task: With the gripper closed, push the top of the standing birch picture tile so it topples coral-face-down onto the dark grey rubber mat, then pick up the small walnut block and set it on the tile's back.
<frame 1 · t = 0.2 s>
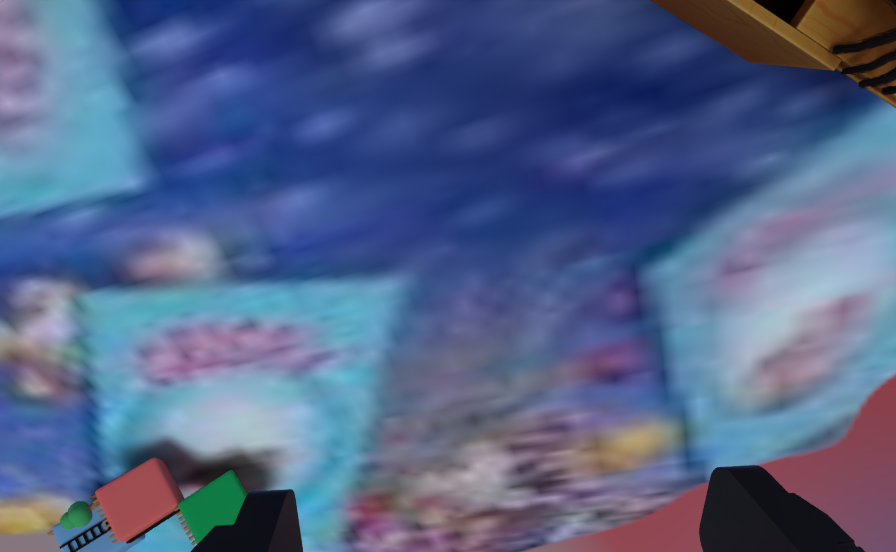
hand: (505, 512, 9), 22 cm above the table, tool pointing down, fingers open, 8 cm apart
building blocks: (179, 483, 39), on the table
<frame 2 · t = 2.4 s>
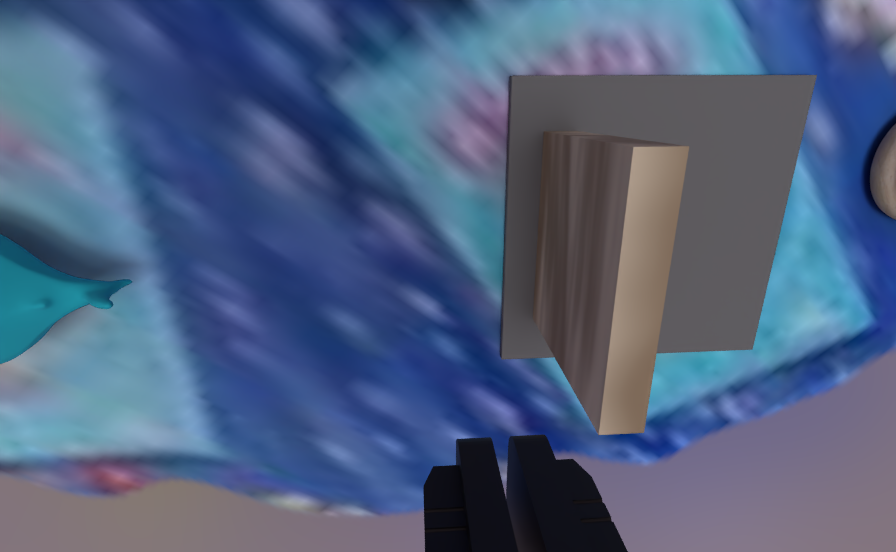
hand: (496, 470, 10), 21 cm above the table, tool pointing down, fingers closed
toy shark: (20, 271, 29), on the table
mat: (642, 226, 31), on the table
tile: (553, 230, 30), point 1 cm above the table, touching mat
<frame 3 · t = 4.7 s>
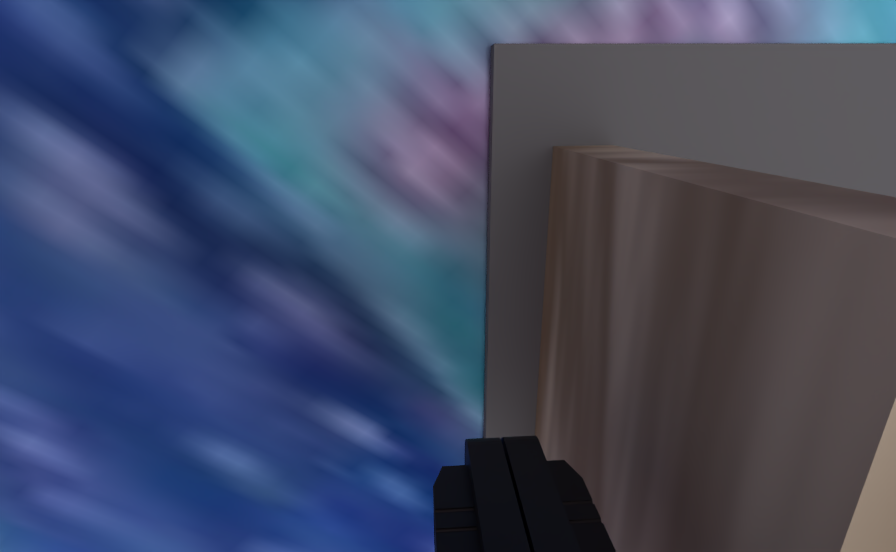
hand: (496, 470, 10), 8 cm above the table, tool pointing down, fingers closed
mat: (715, 302, 18), on the table
tile: (569, 314, 17), point 1 cm above the table, touching gripper, mat
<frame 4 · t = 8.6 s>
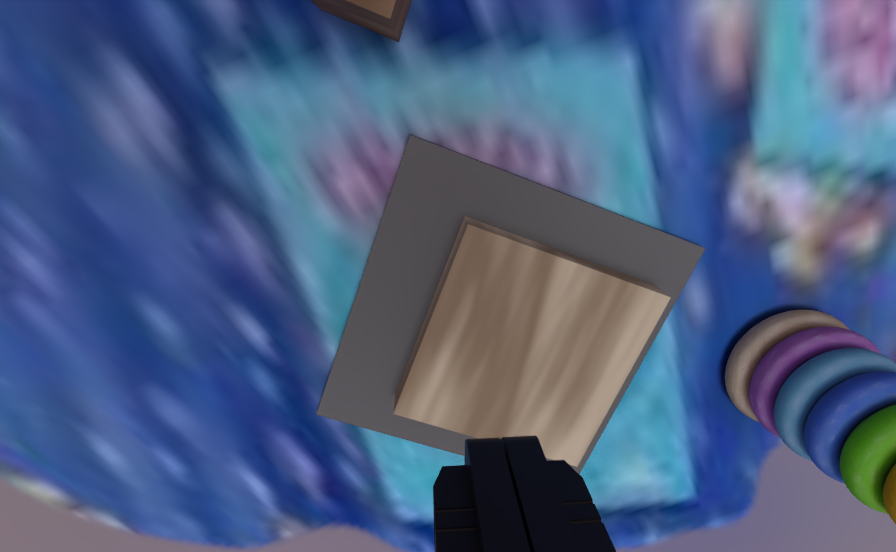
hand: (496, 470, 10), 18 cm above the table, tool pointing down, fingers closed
mat: (501, 330, 29), on the table
stacking toy: (776, 359, 31), on the table
tile: (428, 317, 27), point 2 cm above the table, tilted 90°, touching mat
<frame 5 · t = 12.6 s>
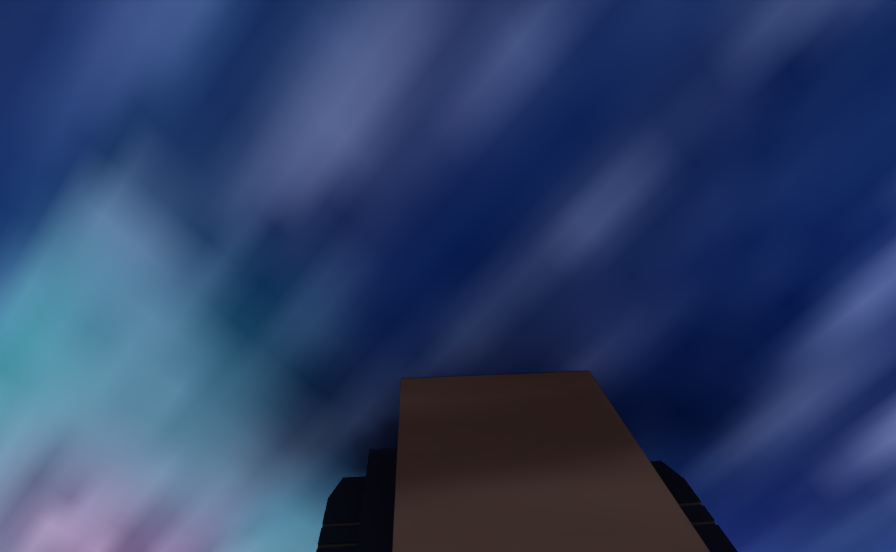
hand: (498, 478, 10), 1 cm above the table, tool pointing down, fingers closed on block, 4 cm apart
block: (493, 452, 11), on the table, touching gripper
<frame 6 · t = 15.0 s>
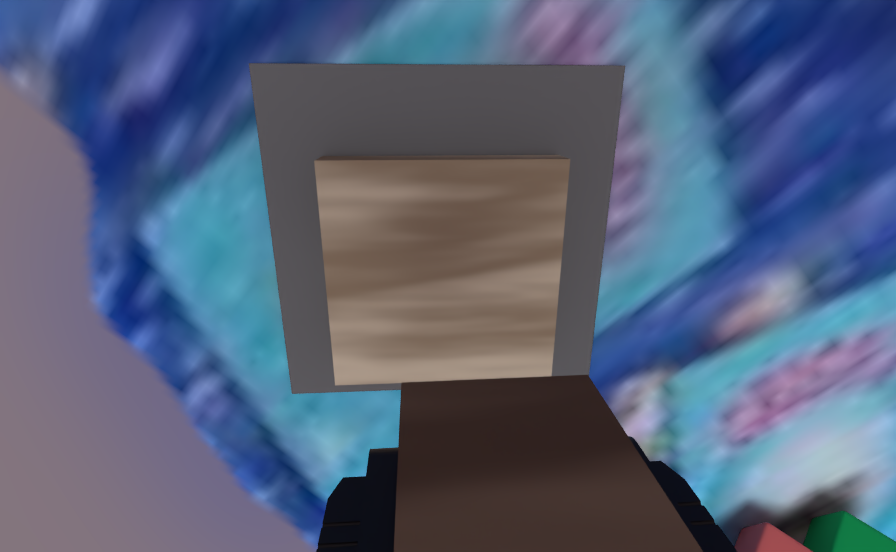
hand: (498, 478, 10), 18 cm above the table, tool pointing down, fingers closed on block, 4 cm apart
mat: (441, 242, 26), on the table
building blocks: (753, 548, 37), on the table
tile: (443, 157, 23), point 2 cm above the table, tilted 90°, touching mat
block: (493, 455, 11), point 17 cm above the table, touching gripper
when the fingers open (5 cm above the table, at t = 17.7 s): block drops 1 cm, resting on tile.
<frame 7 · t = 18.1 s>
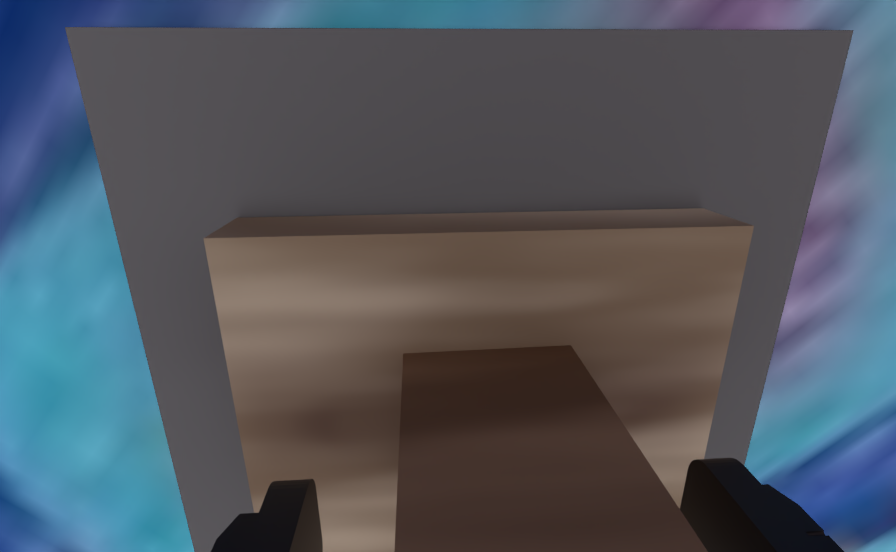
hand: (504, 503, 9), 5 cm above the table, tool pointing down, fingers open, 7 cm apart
mat: (472, 363, 14), on the table
tile: (482, 221, 11), point 2 cm above the table, tilted 90°, touching block, mat
block: (487, 420, 12), point 3 cm above the table, touching tile
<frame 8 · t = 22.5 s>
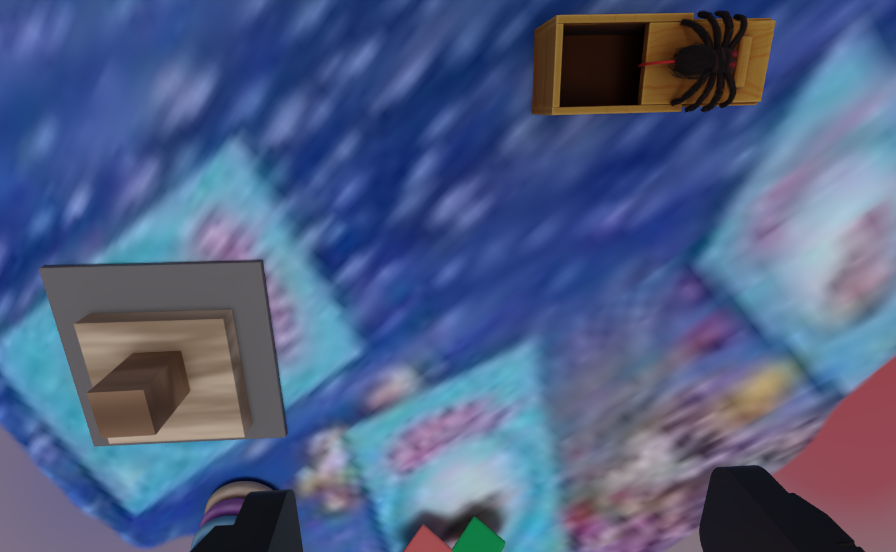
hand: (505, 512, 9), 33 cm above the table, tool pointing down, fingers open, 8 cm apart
spider toy trap: (624, 71, 38), on the table
mat: (175, 356, 43), on the table
building blocks: (440, 542, 54), on the table
stacking toy: (249, 505, 50), on the table
tile: (155, 316, 40), point 2 cm above the table, tilted 90°, touching block, mat
block: (162, 372, 41), point 3 cm above the table, touching tile
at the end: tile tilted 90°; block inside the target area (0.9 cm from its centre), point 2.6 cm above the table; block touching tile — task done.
